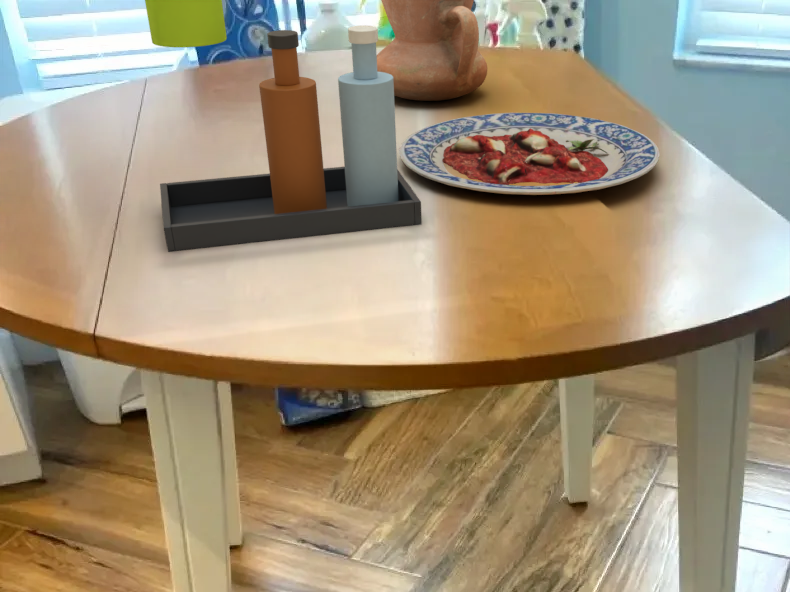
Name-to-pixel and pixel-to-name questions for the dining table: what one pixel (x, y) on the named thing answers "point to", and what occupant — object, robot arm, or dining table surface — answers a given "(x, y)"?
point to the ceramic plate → (530, 153)
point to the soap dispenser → (186, 22)
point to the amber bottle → (292, 130)
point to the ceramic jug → (432, 49)
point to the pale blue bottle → (368, 124)
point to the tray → (270, 212)
